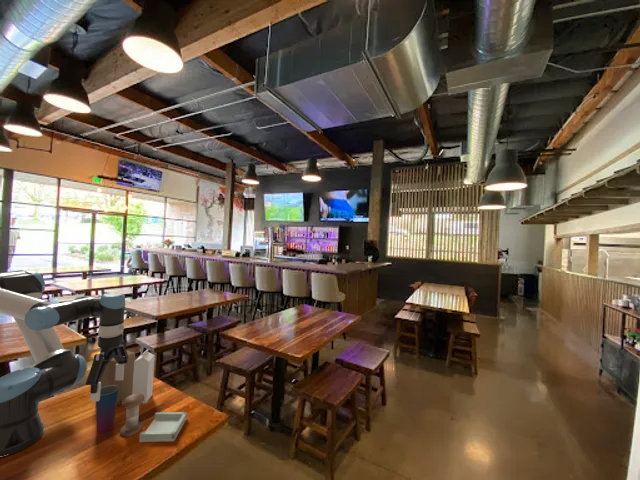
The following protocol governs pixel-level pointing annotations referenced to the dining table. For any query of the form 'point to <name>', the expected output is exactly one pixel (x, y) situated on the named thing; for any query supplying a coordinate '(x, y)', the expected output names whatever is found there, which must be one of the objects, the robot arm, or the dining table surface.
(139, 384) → the milk
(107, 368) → the wooden block
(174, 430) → the square tray
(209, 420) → the dining table surface
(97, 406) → the cup
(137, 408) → the doorknob
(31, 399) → the robot arm
